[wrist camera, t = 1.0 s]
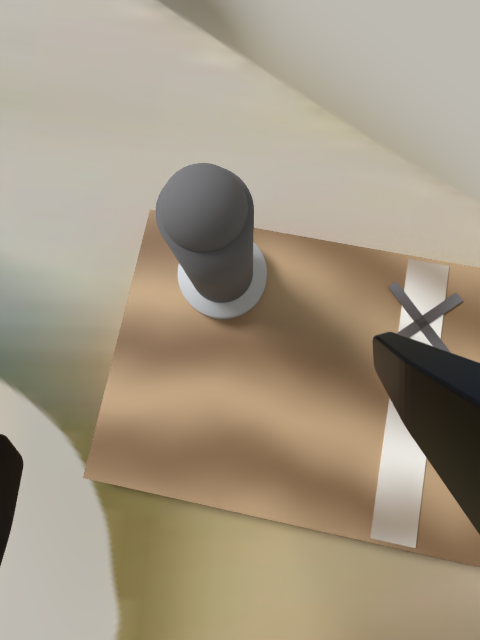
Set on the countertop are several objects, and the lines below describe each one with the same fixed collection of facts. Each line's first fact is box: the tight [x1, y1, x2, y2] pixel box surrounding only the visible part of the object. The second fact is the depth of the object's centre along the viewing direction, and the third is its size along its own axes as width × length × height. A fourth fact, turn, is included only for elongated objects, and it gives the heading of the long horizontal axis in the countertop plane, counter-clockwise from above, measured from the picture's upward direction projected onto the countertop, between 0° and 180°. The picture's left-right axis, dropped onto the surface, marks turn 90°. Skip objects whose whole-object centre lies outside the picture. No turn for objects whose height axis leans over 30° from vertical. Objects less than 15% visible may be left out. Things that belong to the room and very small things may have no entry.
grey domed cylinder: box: [156, 163, 267, 320], centre depth 17 cm, size 5×5×11 cm
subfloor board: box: [83, 210, 480, 567], centre depth 22 cm, size 16×23×2 cm
